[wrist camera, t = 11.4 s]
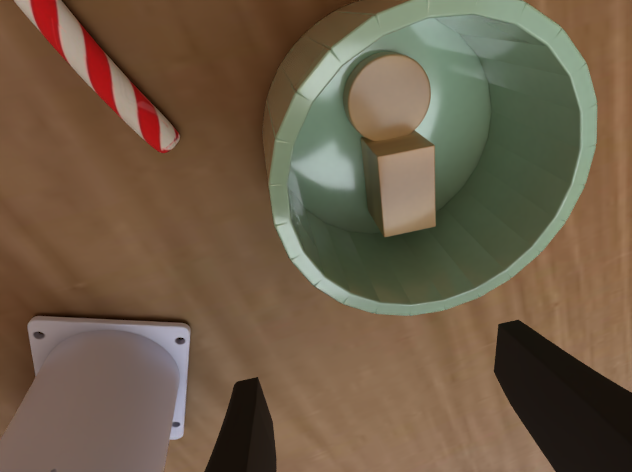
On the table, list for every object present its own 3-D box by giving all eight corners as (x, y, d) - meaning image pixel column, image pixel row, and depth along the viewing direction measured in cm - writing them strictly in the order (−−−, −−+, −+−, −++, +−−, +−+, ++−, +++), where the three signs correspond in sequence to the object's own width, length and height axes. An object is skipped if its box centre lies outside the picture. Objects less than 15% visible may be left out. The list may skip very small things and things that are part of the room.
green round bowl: (449, 245, 23) (514, 322, 18) (248, 225, 21) (250, 307, 15) (534, 26, 18) (664, 36, 13) (282, -35, 16) (303, -56, 10)
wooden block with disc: (425, 198, 21) (449, 224, 18) (356, 213, 21) (370, 240, 18) (421, 43, 17) (450, 50, 15) (337, 59, 17) (352, 69, 15)
